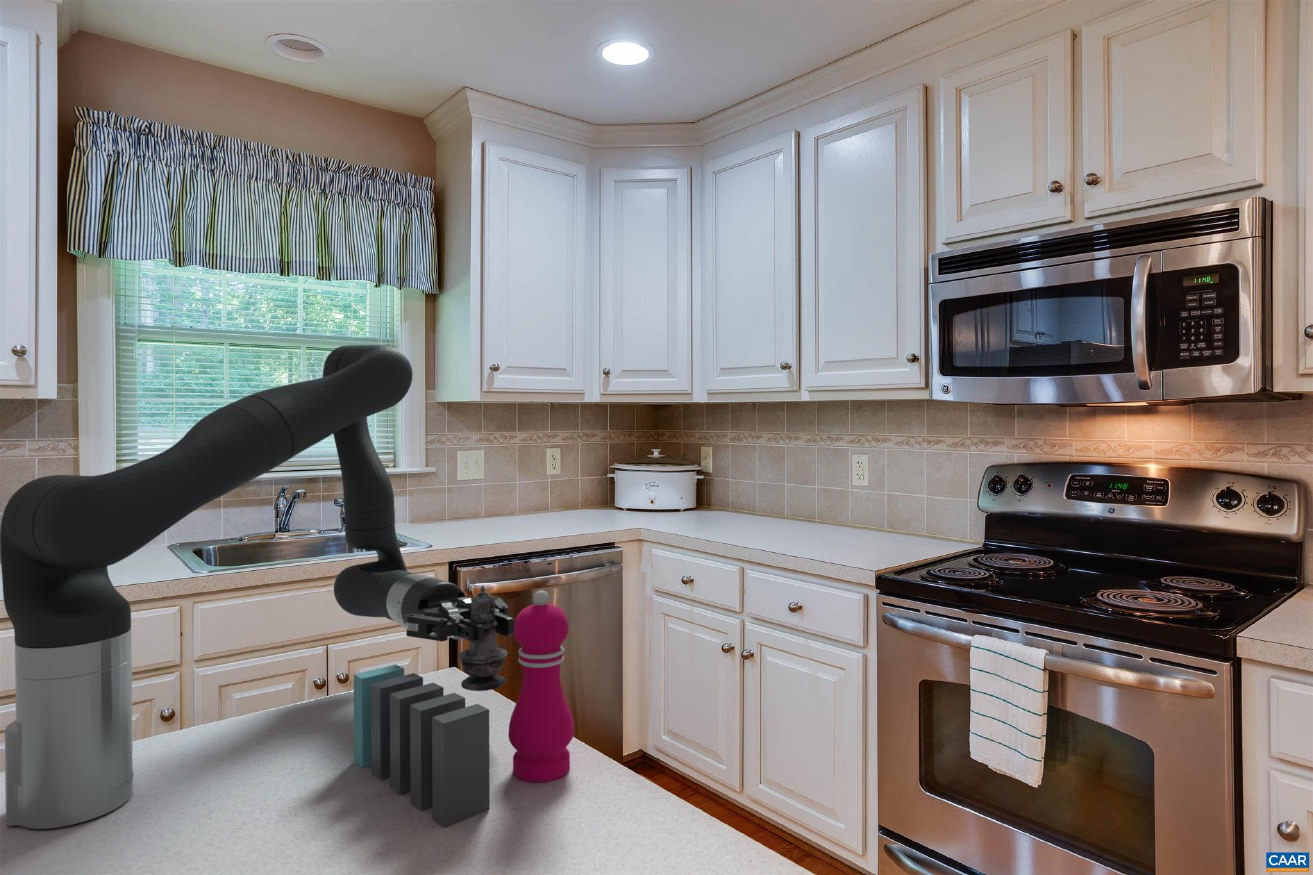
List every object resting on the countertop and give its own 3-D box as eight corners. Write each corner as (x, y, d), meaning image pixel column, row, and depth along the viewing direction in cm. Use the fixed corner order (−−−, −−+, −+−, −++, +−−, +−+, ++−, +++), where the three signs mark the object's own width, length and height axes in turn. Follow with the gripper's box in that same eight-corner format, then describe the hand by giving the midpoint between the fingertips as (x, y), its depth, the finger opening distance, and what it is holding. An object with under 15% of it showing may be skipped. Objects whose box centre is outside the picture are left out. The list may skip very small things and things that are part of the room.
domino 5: (432, 819, 73) (432, 717, 73) (477, 801, 76) (477, 703, 76) (444, 828, 71) (443, 723, 71) (489, 809, 75) (489, 709, 75)
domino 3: (390, 787, 79) (389, 693, 79) (433, 772, 83) (433, 682, 83) (399, 795, 78) (399, 699, 78) (443, 779, 81) (443, 687, 81)
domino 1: (354, 761, 86) (353, 674, 85) (396, 747, 89) (395, 664, 89) (362, 767, 84) (361, 678, 84) (404, 753, 88) (404, 668, 87)
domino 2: (371, 774, 82) (371, 683, 82) (414, 759, 86) (413, 673, 86) (380, 780, 81) (380, 688, 81) (423, 766, 84) (423, 677, 84)
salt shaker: (480, 695, 88) (479, 593, 87) (448, 684, 91) (447, 586, 91) (517, 681, 92) (517, 584, 92) (486, 671, 96) (485, 578, 96)
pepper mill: (587, 765, 85) (587, 588, 84) (545, 791, 78) (544, 600, 78) (538, 750, 88) (538, 581, 88) (494, 774, 82) (494, 592, 82)
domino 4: (410, 803, 76) (410, 704, 76) (454, 786, 80) (454, 692, 79) (421, 810, 74) (420, 710, 74) (465, 793, 78) (465, 697, 78)
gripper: (374, 585, 96) (442, 610, 84) (471, 569, 107) (544, 590, 94) (375, 643, 97) (443, 676, 85) (472, 622, 107) (544, 649, 95)
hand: (496, 630), depth 90 cm, fingers closed on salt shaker, 3 cm apart
